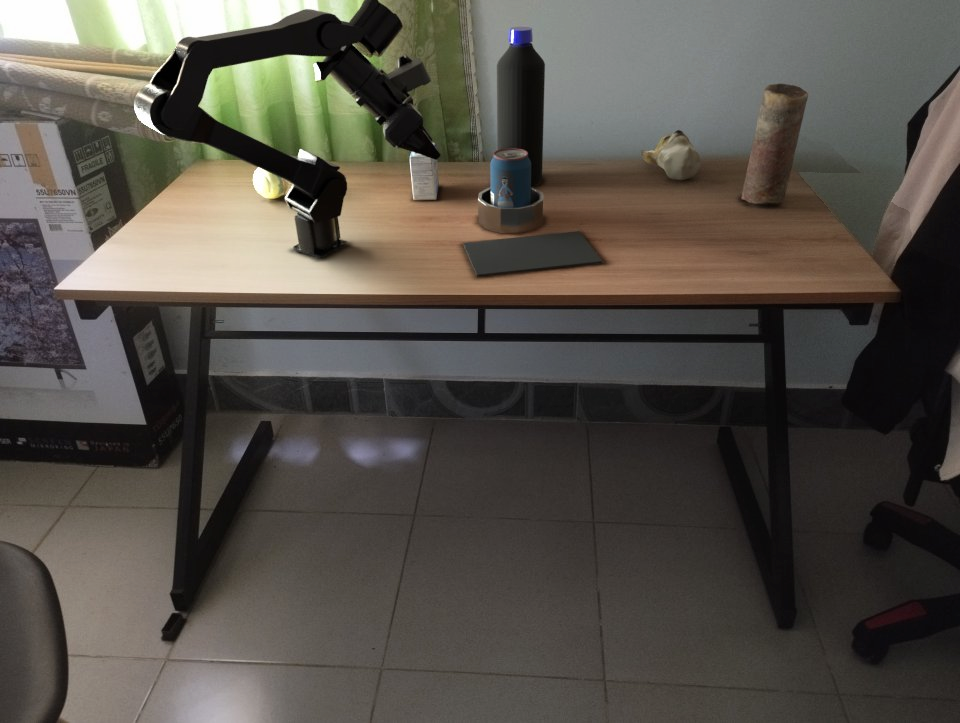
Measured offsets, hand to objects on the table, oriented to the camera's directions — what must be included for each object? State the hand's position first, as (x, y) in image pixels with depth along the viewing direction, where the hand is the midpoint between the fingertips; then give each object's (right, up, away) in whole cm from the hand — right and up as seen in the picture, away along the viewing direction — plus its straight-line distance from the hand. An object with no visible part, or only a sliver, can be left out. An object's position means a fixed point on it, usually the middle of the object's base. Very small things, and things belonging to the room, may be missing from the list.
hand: (434, 149), depth 122 cm
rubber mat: (+16, -18, -3) cm, 24 cm away
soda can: (+13, -10, +9) cm, 19 cm away
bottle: (+15, +1, +26) cm, 30 cm away
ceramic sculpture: (+46, +3, +28) cm, 54 cm away
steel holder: (+13, -10, +9) cm, 19 cm away
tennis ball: (-32, -4, +21) cm, 39 cm away
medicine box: (-3, -3, +21) cm, 21 cm away
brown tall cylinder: (+59, -6, +14) cm, 61 cm away
